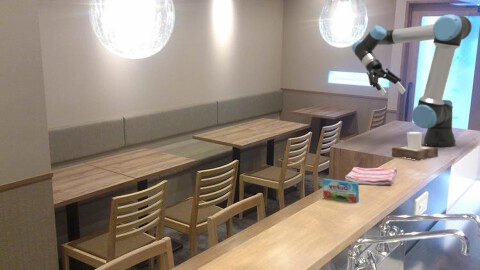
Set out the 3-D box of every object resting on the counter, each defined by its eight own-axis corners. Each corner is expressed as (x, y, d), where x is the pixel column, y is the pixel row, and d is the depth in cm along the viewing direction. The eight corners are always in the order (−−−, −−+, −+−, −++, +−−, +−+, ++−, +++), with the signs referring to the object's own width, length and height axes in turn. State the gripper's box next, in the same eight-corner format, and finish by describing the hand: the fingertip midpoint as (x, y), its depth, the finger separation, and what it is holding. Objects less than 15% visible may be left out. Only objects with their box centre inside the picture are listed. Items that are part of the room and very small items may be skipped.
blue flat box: (323, 197, 154) (322, 179, 153) (325, 196, 155) (325, 178, 154) (356, 203, 146) (356, 183, 145) (358, 201, 147) (358, 182, 146)
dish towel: (343, 185, 170) (343, 175, 170) (354, 171, 191) (354, 162, 191) (391, 187, 163) (391, 178, 163) (397, 173, 184) (397, 164, 184)
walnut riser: (412, 152, 221) (412, 144, 221) (437, 156, 209) (437, 147, 209) (391, 156, 215) (391, 147, 214) (416, 160, 202) (416, 151, 202)
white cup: (419, 149, 207) (420, 134, 206) (404, 148, 211) (404, 133, 210) (424, 146, 212) (424, 131, 211) (409, 146, 216) (409, 131, 215)
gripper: (385, 68, 252) (407, 96, 241) (350, 70, 240) (372, 100, 229) (392, 58, 246) (415, 86, 235) (357, 59, 234) (380, 89, 223)
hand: (394, 93), depth 232 cm, fingers open, 13 cm apart
